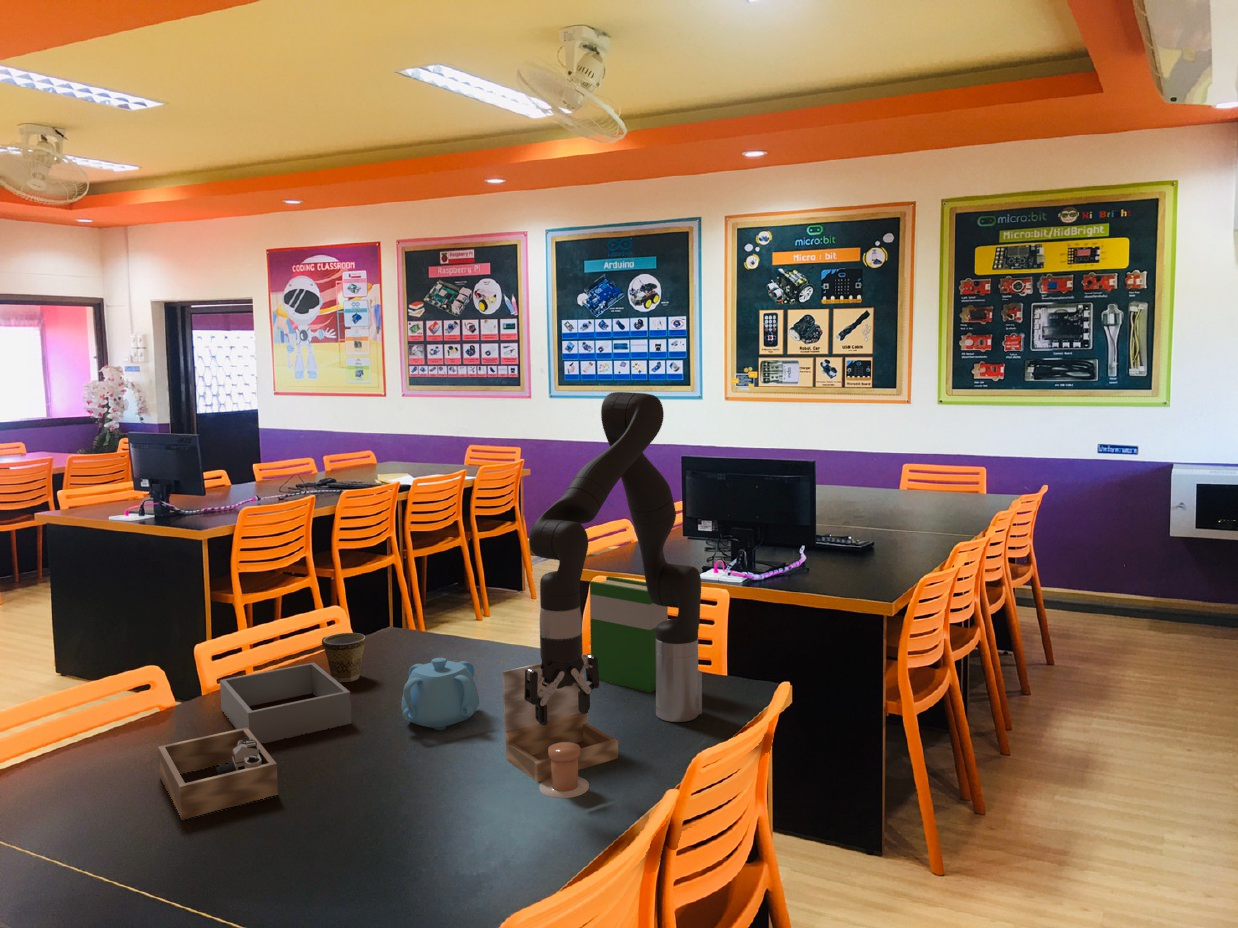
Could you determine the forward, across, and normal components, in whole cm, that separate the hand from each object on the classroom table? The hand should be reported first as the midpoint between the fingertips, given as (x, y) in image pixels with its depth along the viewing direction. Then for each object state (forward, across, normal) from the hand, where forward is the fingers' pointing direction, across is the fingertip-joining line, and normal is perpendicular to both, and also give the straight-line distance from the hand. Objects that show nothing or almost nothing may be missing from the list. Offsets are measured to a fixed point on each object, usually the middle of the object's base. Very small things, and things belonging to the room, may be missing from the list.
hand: (563, 718), depth 171 cm
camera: (+13, +48, -35) cm, 61 cm away
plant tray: (+13, +31, -66) cm, 74 cm away
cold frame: (+13, -6, -10) cm, 18 cm away
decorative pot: (+14, +4, -44) cm, 47 cm away
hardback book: (+14, -43, -41) cm, 61 cm away
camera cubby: (+13, +51, -38) cm, 65 cm away
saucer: (+13, 0, 0) cm, 13 cm away
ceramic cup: (+14, +12, -85) cm, 87 cm away
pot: (+13, 0, 0) cm, 13 cm away
